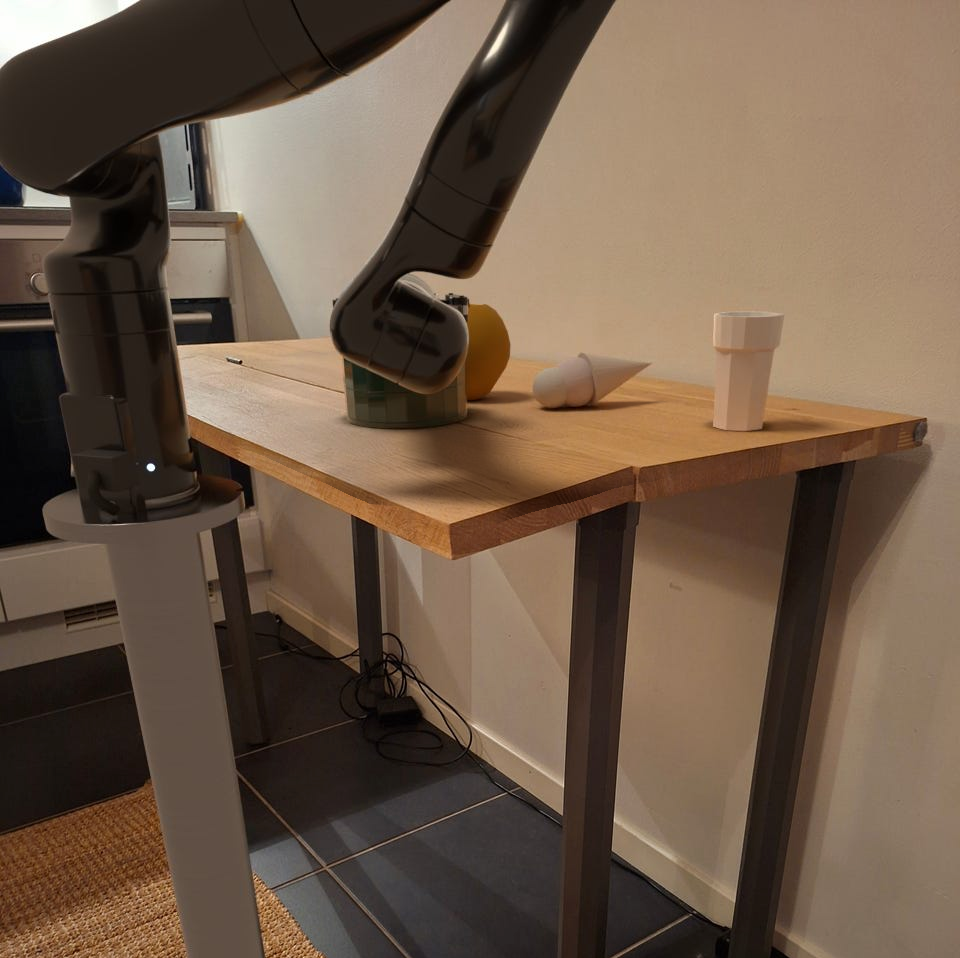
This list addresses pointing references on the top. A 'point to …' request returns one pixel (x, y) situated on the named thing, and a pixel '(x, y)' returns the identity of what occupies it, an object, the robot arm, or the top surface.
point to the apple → (485, 350)
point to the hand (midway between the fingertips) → (401, 304)
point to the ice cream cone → (583, 380)
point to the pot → (400, 401)
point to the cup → (743, 367)
